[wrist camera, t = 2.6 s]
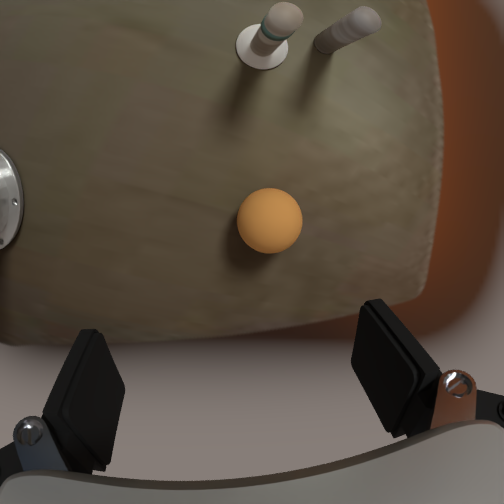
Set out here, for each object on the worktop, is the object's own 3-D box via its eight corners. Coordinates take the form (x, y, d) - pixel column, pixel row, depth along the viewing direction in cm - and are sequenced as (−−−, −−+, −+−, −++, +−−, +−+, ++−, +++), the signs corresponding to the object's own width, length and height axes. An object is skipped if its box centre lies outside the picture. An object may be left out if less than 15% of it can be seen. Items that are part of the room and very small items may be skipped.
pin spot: (265, 79, 25) (266, 78, 25) (225, 48, 23) (225, 48, 23) (297, 46, 24) (297, 45, 24) (258, 16, 22) (258, 15, 22)
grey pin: (327, 58, 25) (371, 37, 17) (309, 42, 24) (348, 15, 16) (340, 44, 24) (386, 22, 16) (323, 29, 24) (364, 1, 15)
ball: (266, 250, 32) (280, 276, 27) (221, 217, 30) (226, 238, 25) (303, 206, 31) (324, 224, 25) (259, 170, 29) (273, 181, 23)
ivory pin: (263, 62, 24) (289, 36, 16) (243, 47, 24) (261, 15, 15) (280, 46, 24) (310, 16, 16) (260, 31, 23) (283, -5, 15)
